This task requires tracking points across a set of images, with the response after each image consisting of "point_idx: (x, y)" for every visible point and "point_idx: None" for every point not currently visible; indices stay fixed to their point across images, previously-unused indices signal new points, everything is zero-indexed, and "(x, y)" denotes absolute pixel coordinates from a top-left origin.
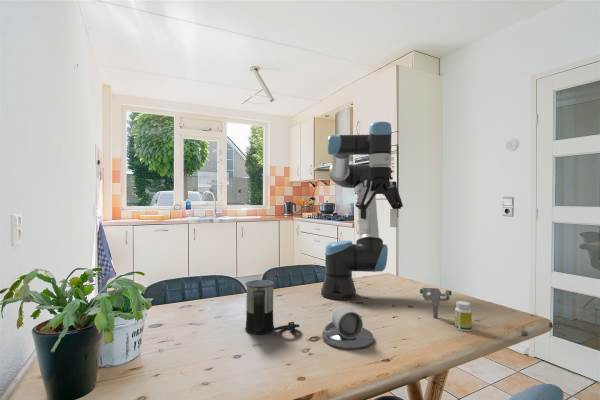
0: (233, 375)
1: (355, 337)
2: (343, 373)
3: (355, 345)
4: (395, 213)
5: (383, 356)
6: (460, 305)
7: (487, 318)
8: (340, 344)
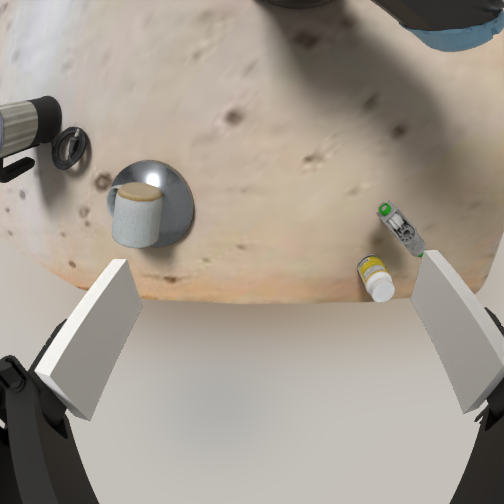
0: (23, 231)
1: None
2: None
3: None
4: (452, 377)
5: (172, 271)
6: (371, 293)
7: None
8: None
